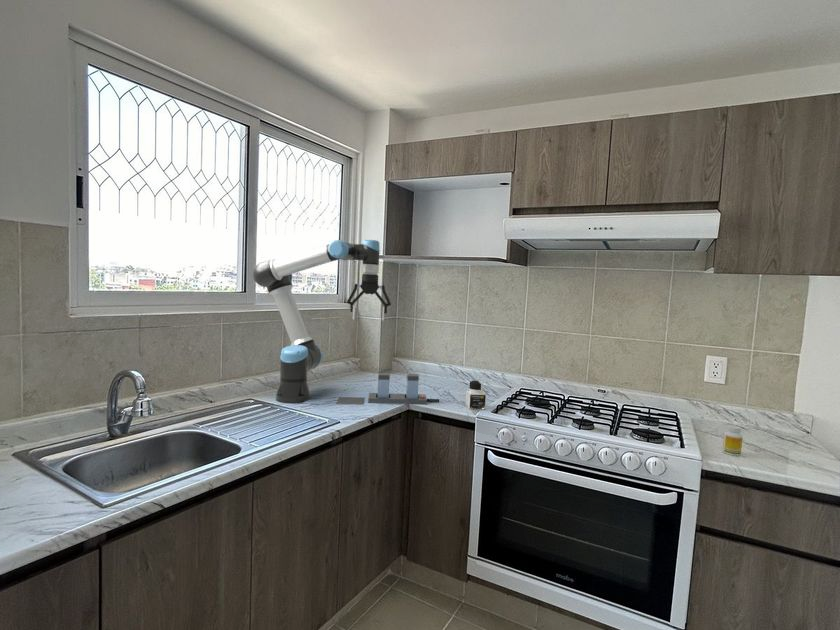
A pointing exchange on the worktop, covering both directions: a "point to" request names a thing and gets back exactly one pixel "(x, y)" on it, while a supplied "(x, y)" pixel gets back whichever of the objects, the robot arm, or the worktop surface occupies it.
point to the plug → (383, 385)
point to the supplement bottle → (732, 441)
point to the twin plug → (412, 386)
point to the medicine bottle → (475, 395)
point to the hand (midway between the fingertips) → (368, 320)
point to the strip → (399, 399)
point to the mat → (350, 400)
